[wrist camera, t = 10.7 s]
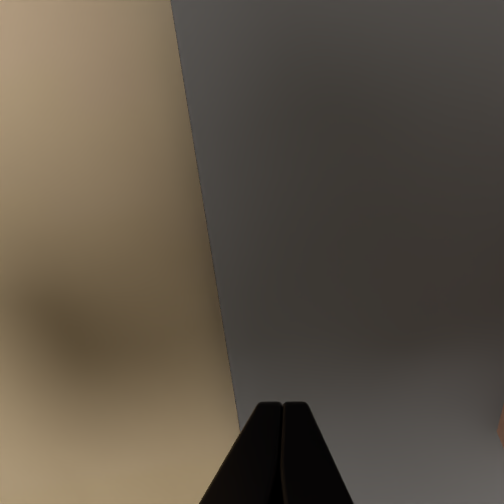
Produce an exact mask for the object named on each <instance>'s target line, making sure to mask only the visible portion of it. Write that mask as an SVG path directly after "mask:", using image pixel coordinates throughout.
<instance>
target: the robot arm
mask: <svg viewBox="0 0 504 504" xmlns="http://www.w3.org/2000/svg"><path fill="white" fill-rule="evenodd" d="M199 504H354V503H353V501H352V498H351V496H350V494H349V492H348V490H347V488H346V485H345V483H344V481H343V479H342V477H341V474H340V472H339V470H338V468H337V466H336V464H335V461H334V459H333V457H332V455H331V453H330V451H329V448H328V446H327V444H326V442H325V440H324V438H323V435H322V433H321V431H320V429H319V427H318V425H317V422H316V420H315V418H314V416H313V414H312V412H311V409H310V407H309V405H308V404H307V403H306V402H304V401H287V402H285V403H284V404H283V405H282V403H281V402H278V401H262V402H259V403H258V404H257V405H256V407H255V408H254V410H253V412H252V414H251V415H250V417H249V419H248V420H247V422H246V424H245V426H244V427H243V429H242V431H241V432H240V434H239V436H238V438H237V439H236V441H235V443H234V444H233V446H232V448H231V450H230V451H229V453H228V455H227V456H226V458H225V460H224V462H223V463H222V465H221V467H220V468H219V470H218V472H217V474H216V475H215V477H214V479H213V480H212V482H211V484H210V486H209V487H208V489H207V491H206V492H205V494H204V496H203V498H202V499H201V501H200V503H199Z"/></svg>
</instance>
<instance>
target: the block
mask: <svg viewBox="0 0 504 504" xmlns="http://www.w3.org/2000/svg"><path fill="white" fill-rule="evenodd" d="M497 434H498V436H499V438H500V441H501V443H502V446H503V448H504V405H503V409H502V413H501V417H500V421H499V425H498V429H497Z"/></svg>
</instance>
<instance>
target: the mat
mask: <svg viewBox="0 0 504 504" xmlns="http://www.w3.org/2000/svg"><path fill="white" fill-rule="evenodd" d="M171 6H172V12H173V18H174V24H175V31H176V37H177V43H178V49H179V55H180V62H181V68H182V74H183V80H184V86H185V93H186V99H187V105H188V111H189V117H190V123H191V130H192V136H193V142H194V148H195V154H196V161H197V167H198V173H199V179H200V185H201V191H202V198H203V204H204V210H205V216H206V222H207V229H208V235H209V241H210V247H211V253H212V260H213V266H214V272H215V278H216V284H217V290H218V297H219V303H220V309H221V315H222V321H223V328H224V334H225V340H226V346H227V352H228V358H229V365H230V371H231V377H232V383H233V389H234V396H235V402H236V408H237V414H238V420H239V427H240V432H241V431H242V429H243V427H244V426H245V424H246V422H247V420H248V419H249V417H250V415H251V414H252V412H253V410H254V408H255V407H256V405H257V404H258V403H259V402H262V401H278V402H281V403H282V405H283V404H284V403H285V402H287V401H304V402H306V403H307V404H308V405H309V407H310V409H311V412H312V414H313V416H314V418H315V420H316V422H317V425H318V427H319V429H320V431H321V433H322V435H323V438H324V440H325V442H326V444H327V446H328V448H329V451H330V453H331V455H332V457H333V459H334V461H335V464H336V466H337V468H338V470H339V472H340V474H341V477H342V479H343V481H344V483H345V485H346V488H347V490H348V492H349V494H350V496H351V498H352V501H353V503H354V504H504V448H503V446H502V443H501V441H500V438H499V436H498V434H497V429H498V425H499V421H500V417H501V413H502V409H503V405H504V0H171Z"/></svg>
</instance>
